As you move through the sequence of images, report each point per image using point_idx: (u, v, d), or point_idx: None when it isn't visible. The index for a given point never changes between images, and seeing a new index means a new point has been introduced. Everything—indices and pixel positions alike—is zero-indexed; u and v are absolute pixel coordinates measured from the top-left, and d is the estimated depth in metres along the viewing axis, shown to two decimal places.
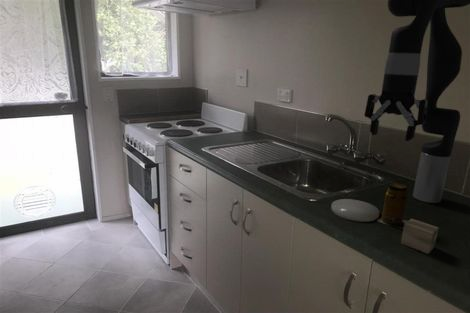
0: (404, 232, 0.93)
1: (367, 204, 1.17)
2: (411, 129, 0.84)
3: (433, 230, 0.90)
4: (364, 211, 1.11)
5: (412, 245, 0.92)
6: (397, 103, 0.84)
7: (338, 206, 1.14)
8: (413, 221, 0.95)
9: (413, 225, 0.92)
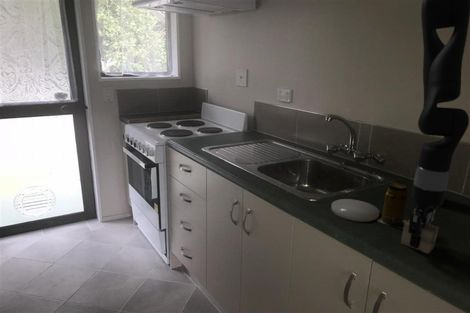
0: (404, 232, 0.93)
1: (367, 204, 1.17)
2: None
3: (433, 230, 0.90)
4: (364, 211, 1.11)
5: None
6: (433, 211, 0.90)
7: (338, 206, 1.14)
8: None
9: None
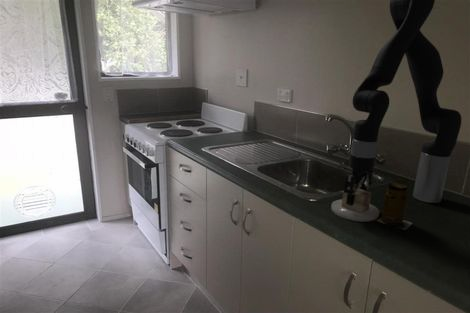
0: (344, 197, 1.13)
1: None
2: None
3: (365, 194, 1.09)
4: None
5: (350, 207, 1.12)
6: (367, 176, 1.10)
7: (338, 206, 1.14)
8: None
9: None
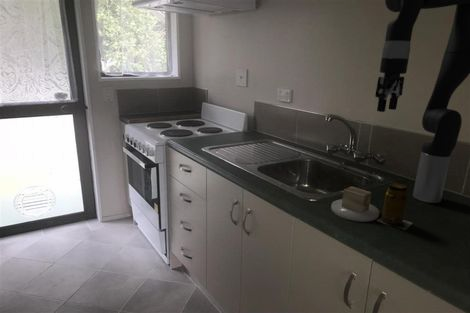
0: (344, 197, 1.13)
1: None
2: None
3: (365, 194, 1.09)
4: None
5: (350, 207, 1.12)
6: (398, 81, 1.05)
7: (338, 206, 1.14)
8: (351, 188, 1.14)
9: (350, 190, 1.12)
